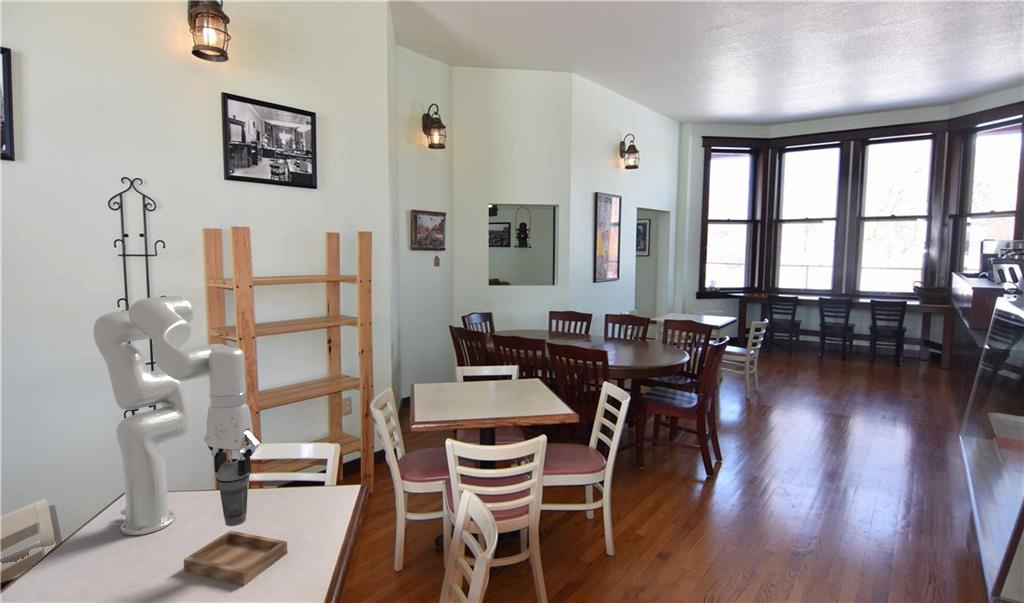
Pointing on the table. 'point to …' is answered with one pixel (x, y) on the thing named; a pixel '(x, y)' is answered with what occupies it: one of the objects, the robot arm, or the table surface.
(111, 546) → the table surface
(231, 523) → the beverage cup
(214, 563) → the walnut tray
